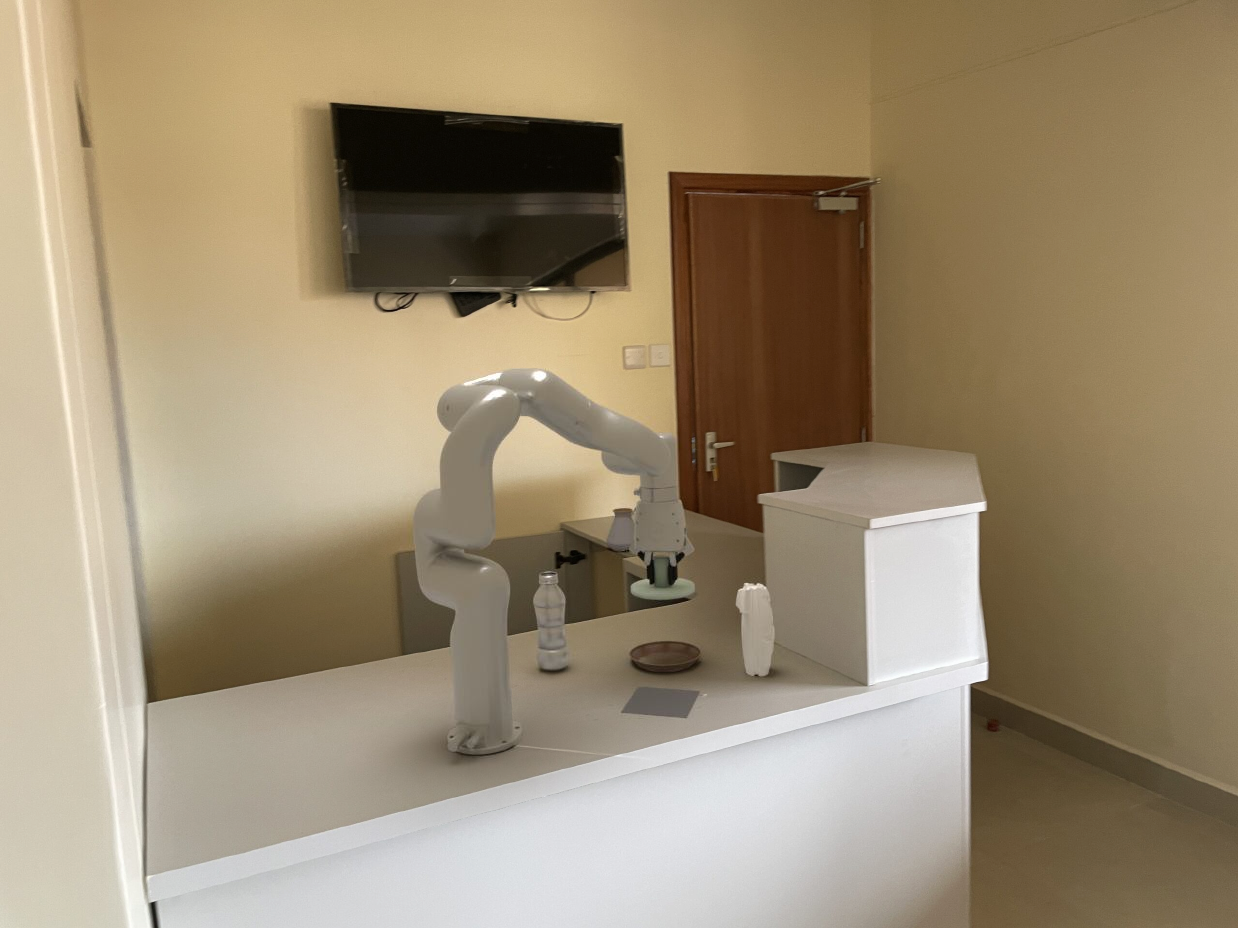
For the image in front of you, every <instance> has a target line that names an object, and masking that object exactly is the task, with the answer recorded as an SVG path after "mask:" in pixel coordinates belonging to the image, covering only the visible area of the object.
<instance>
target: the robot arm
mask: <svg viewBox="0 0 1238 928" xmlns="http://www.w3.org/2000/svg"><path fill="white" fill-rule="evenodd" d="M436 406H437V407H436V413H437V418H438V421H439V422H440V424H441V426H442V427H443V428H444V429H446V430H447V431H448V432H450V433H449V435H448V436H447V438H446V440H445V442H444V444H443V446H442V448H441V449H442V450H441V453H440V458H439V486H440V487H439V488H434V489H432V490H429V491H427V492H426V493H424V494H423V495H422V496H421V498H420V499H419V501H418V502H417V504H416V506H415V509H414V512H413V517H412V533H413V535H412V536H413V544H414V545H413V546H414V557H415V566H416V574H417V581H418V584H419V587H420V591H421V592H422V594H423V595H424V596H425V597H426V599H428V600H429V601H431V602H433V603H435V604H437V605H440V606H442V607H445V608H446V607H447V608H449V609H452V610H454V611H455V615H454V620H453V623H452V626H451V630H450V636H449V648H450V660H451V661H450V662H451V663H450V664H451V677H452V687H453V688H452V690H453V704H454V719H455V721H454V722H455V726H454V727H453V728H452V729H450V730H449V732H448V734H447V736H446V738H447V744H446V747H447V749H448V751H450V752H452V753H455V752H457V753H460V754H464V755H471V756H472V755H473V756H474V755H475V756H476V755H477V756H480V755H482V756H483V755H489V754H494V753H500V752H502V751H505V750H507V749H510V748H512V747H513V746H514V745H516V744H517V743H518V742H520V740H521V739H522V737H523V728H522V725H521V724H520V723H519V722H518V721H516V720H514V719H513V709H512V707H513V705H512V693H511V677H510V674H511V673H510V657H509V656H510V655H509V645H508V644H509V643H508V612H509V611H508V610H509V609H508V608H509V603H510V595H511V584H510V578H509V576H508V573H507V572H506V570H505V569H504V568H503V567H502V565H500V564H499V563H498V562H495V561H494V560H492V559H489V558H487V557H484V556H481V555H476V554H471V553H465V550H466V551H477V550H478V551H479V550H482V549H485V548H487V547H488V546H490V544H491V543H492V542H493V540H494V539H495V536H496V532H497V515H496V504H495V503H496V502H495V492H494V491H495V490H494V477H493V467H494V465H493V464H494V460H495V455H496V453H497V451H498V448H499V447H500V445H501V444H502V442H503V441H504V440H505V439H506V437H507V436H508V435H509V434H510V433H511V432H512V431H513V430H514V428H516V425H517V424H518V422H519V419H520V418H521V417H528V418H531V419H534V420H536V422H538V423H540V424H541V425H544V427H546V428H548V429H549V430H550V431H552V432H554V433H555V434H557V435H558V436H560V437H562V438H564V439H565V440H566V441H568V442H569V443H571V444H573V445H577V446H579V447H581V448H585V449H590V450H593V451H600V452H601V453H600V454H601V455H600V456H601V457H600V458H601V461H602V464H603V465H604V467H605V468H606V469H607V470H609V471H610V472H612V473H615V474H618V475H625V476H639V480H640V481H639V483H640V486H639V487H638V488H634V489H633V495H634V496H638V497H639V500H638V501H637V502H636V506H635V507H636V511H635V512H634V516H635V517H634V524H635V526H634V540H633V541H632V543H631V545H630V547H629V551H628V552H630V553H633V554H634V555H636V556H638V557H639V559H640V560H641V561H642V562H643V563H644V565H645V566H646V579H649V584H650V585H653V584H654V562H653V557H654V556H655V554H654V553H668V556H669V557H670V566H669V567H668V578H669V585H673V584H674V583H675V580H677V579H678V578H679V569H678V564H679V563H680V562H681V561H682V560H683V559H684V558H686V557H688V556H689V555H691V554H692V553H694V552H695V548H694V545H693V544H692V542H691V540H690V539H689V538H688V536H687V534H688V533H687V526H686V525H687V523H686V517H685V510H684V506H683V502H682V500H681V499H679V486H678V485H679V483H678V482H679V479H678V460H677V459H678V457H677V456H678V455H677V454H678V453H677V449H678V448H677V439H676V437H675V435H674V434H673V433H670V432H654V431H653V430H652V429H650V428H649V427H647V426H646V425H645V424H643V423H641V422H639V421H638V420H635V419H633V418H630V417H629V416H625V415H623V414H621V413H618V412H617V411H614V410H613V409H610V408H608V407H605V406H602V405H600V404H598V403H596V402H595V401H593V399H592V400H591V399H590V398H589V397H588V396H586V395H585V394H583V393H581V391H579V390H577V389H576V388H574V387H573V386H572V385H571V384H569V383H568V382H566V381H565V380H564V379H562V378H561V377H559V376H558V375H556V374H555V373H553V372H552V371H549V370H546V369H543V368H510V369H505V370H502V371H498V372H495V373H491V374H489V375H485V376H482V377H478V378H475V379H473V380H468V381H466V382H461V383H459V384H455V385H453V386H451V387H449V388H447V389H446V390H445V391H444V392H443V393H442V395H441V396H440V398H439V399H438V402H437V405H436Z"/></svg>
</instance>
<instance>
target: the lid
mask: <svg viewBox="0 0 1238 928" xmlns="http://www.w3.org/2000/svg"><path fill="white" fill-rule="evenodd" d="M653 562H654V584H653V585H650V584H649V579H647V578H645V579H640V580H638V581H634V582H633V583H632V584H631V585H630V593H631V594H632V596H634V597H637V598H640V599H644V600H652V601H653V600H654V601H655V600H656V601H657V600H658V601H663V600H664V601H667V600H669V601H670V600H675V599H676V600H677V599H681V598H686V597H688V596H690V595H692V594H694V593H695V590H696V589H695V587H696V586H695V585H696V584H695V582H693V581H691V580H689V579H686V578H681V577H678V579H677V580H675V583H674V584H673V585H669V578H668V567H669V566H670V557H669V554H668V555H666V554H657V555H654V557H653Z"/></svg>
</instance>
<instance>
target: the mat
mask: <svg viewBox="0 0 1238 928" xmlns="http://www.w3.org/2000/svg"><path fill="white" fill-rule="evenodd" d="M700 693H701V691H700V690H690V689H677V688H666V687H665V688H661V687H649V686H638V687H636V688H635V691H634V692H633V694H632V695H631V696H630V698H629V699H628V701H627V702H626V704H625V705H624V707H623V708H622V710H621V711H620V713H622V714H630V715H631V714H634V715H644V716H645V715H646V716H656V717H667V718H669V717H670V718H681V719H687V718H688V716H689V714H690V712H691V710H692V708H693V706H694V704H695V702H696V700H697V698H698V696H699V694H700Z"/></svg>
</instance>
